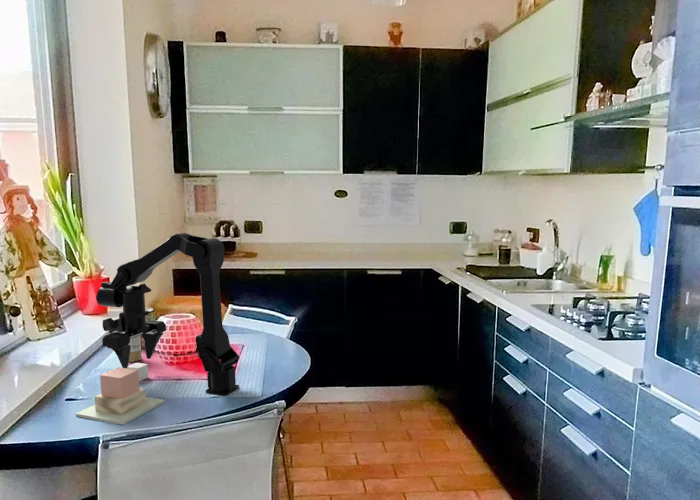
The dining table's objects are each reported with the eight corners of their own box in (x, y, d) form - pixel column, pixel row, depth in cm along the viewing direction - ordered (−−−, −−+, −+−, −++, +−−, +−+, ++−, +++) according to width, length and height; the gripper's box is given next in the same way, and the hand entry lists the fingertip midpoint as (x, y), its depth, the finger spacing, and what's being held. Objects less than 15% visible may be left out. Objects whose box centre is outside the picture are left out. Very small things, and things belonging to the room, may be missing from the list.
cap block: (148, 377, 158) (147, 364, 157) (138, 382, 154) (137, 368, 154) (137, 376, 159) (136, 362, 159) (126, 381, 155) (126, 367, 155)
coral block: (139, 389, 137) (138, 369, 137) (121, 398, 132) (120, 378, 131) (119, 386, 139) (118, 367, 139) (101, 395, 134) (100, 375, 133)
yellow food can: (122, 348, 186) (120, 312, 185) (138, 340, 195) (136, 306, 193) (146, 349, 184) (144, 313, 183) (161, 342, 193) (160, 307, 191)
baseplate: (164, 402, 140) (164, 399, 140) (122, 424, 127) (122, 422, 127) (119, 394, 145) (119, 392, 145) (75, 416, 132) (75, 413, 132)
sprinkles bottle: (141, 357, 176) (138, 315, 175) (142, 361, 172) (140, 318, 171) (125, 359, 174) (123, 316, 173) (126, 363, 170) (124, 320, 169)
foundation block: (146, 402, 138) (145, 388, 138) (122, 415, 131) (121, 400, 130) (120, 398, 141) (119, 384, 141) (95, 410, 134) (94, 396, 133)
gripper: (135, 299, 166) (137, 351, 167) (84, 313, 148) (88, 370, 150) (165, 302, 162) (168, 355, 163) (117, 317, 144) (121, 375, 146)
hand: (137, 363), depth 156 cm, fingers open, 9 cm apart
